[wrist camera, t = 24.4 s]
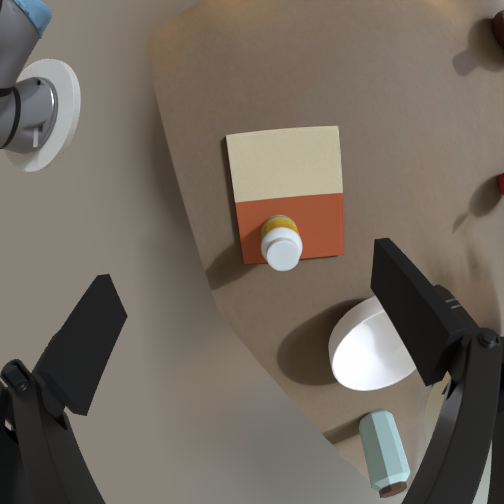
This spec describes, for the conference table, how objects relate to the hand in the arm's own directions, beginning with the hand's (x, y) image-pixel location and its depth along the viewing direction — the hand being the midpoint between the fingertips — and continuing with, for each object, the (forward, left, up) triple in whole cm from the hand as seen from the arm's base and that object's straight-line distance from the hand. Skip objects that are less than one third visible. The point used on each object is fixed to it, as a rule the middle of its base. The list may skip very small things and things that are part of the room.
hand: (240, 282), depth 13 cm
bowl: (+19, -29, -31) cm, 46 cm away
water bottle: (+25, -64, -31) cm, 75 cm away
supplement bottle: (+2, -8, -30) cm, 31 cm away
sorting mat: (+4, -3, -30) cm, 31 cm away
